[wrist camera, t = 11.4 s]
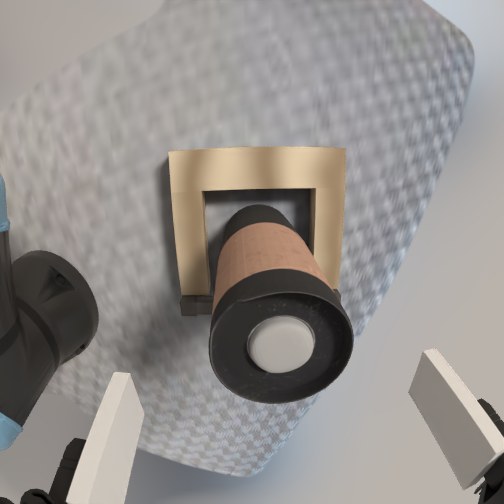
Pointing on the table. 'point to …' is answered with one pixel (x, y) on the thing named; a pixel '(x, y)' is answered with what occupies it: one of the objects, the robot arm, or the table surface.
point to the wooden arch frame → (253, 177)
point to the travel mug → (274, 313)
